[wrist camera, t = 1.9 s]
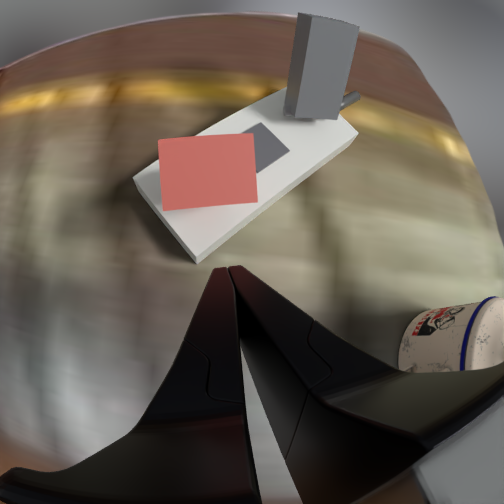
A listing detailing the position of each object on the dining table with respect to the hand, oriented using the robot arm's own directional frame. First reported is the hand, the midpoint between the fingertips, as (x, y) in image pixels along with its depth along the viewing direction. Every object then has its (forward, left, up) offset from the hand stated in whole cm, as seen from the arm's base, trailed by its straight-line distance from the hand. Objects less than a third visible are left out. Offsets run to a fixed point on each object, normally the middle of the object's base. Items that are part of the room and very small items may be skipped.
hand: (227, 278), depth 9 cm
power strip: (+14, +7, -14) cm, 21 cm away
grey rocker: (+17, +7, -10) cm, 21 cm away
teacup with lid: (+11, -17, -14) cm, 24 cm away
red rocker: (+5, +7, -10) cm, 13 cm away
